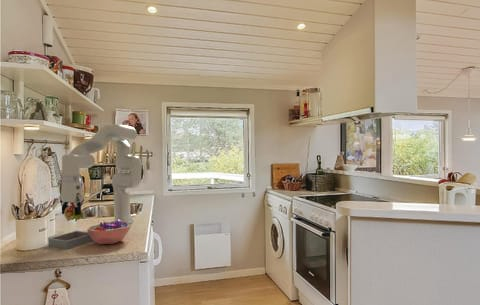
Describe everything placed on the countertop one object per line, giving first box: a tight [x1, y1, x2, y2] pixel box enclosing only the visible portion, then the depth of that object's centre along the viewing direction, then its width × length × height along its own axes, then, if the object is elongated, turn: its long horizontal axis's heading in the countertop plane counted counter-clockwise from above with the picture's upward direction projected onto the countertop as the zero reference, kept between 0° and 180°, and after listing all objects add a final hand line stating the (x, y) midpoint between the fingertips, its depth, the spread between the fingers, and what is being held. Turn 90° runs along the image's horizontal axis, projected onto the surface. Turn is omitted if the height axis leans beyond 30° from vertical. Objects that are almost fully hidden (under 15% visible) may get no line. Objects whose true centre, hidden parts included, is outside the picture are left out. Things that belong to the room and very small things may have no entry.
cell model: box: [87, 219, 132, 245], centre depth 146 cm, size 17×20×11 cm
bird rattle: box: [63, 203, 85, 222], centre depth 147 cm, size 6×11×9 cm
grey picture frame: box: [47, 230, 94, 250], centre depth 147 cm, size 15×13×4 cm
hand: (71, 214), depth 147 cm, fingers closed on bird rattle, 8 cm apart
